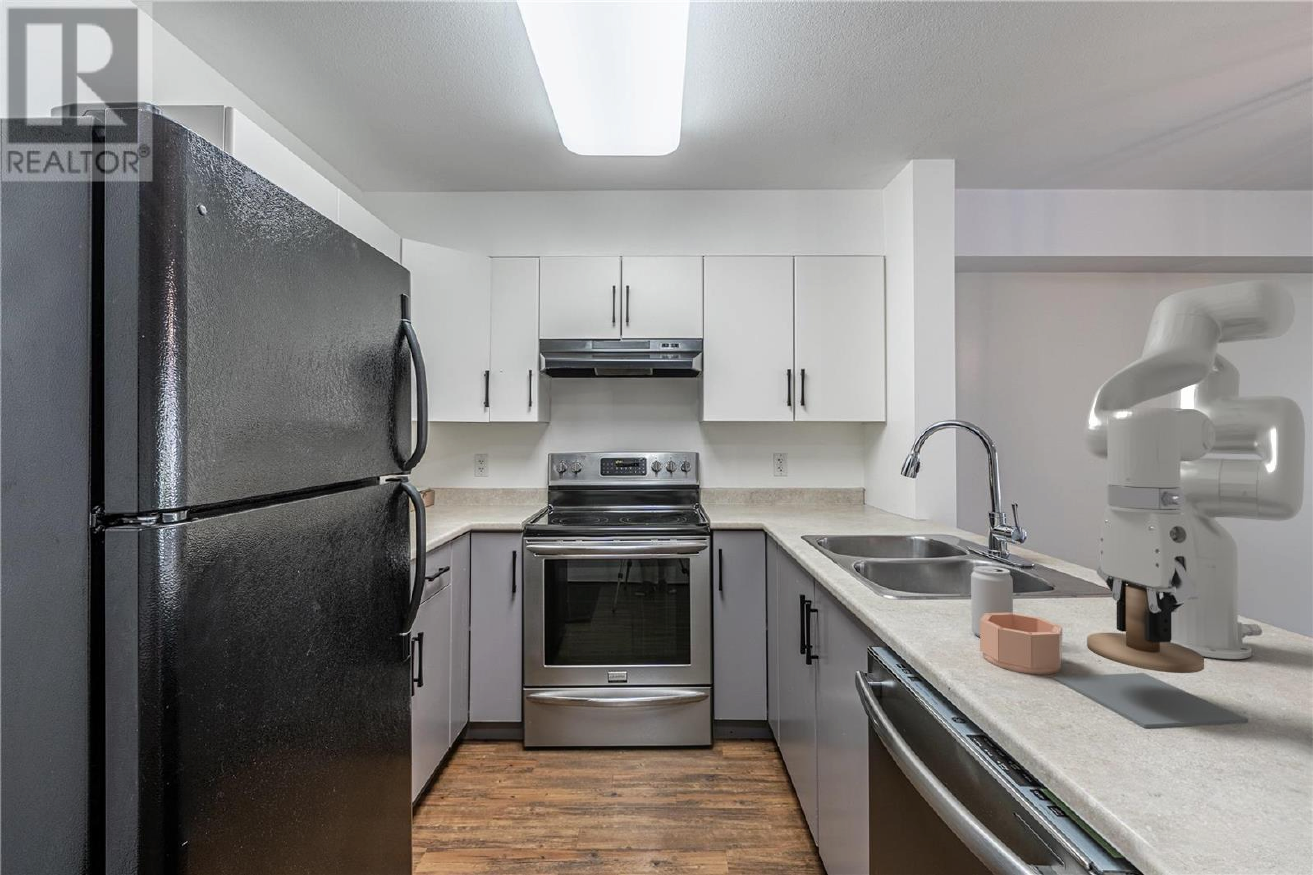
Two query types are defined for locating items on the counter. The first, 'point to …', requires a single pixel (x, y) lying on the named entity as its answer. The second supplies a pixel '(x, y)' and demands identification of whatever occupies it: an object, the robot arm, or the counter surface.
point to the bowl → (1021, 643)
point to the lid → (1143, 642)
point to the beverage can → (990, 593)
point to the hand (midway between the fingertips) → (1143, 634)
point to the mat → (1149, 700)
